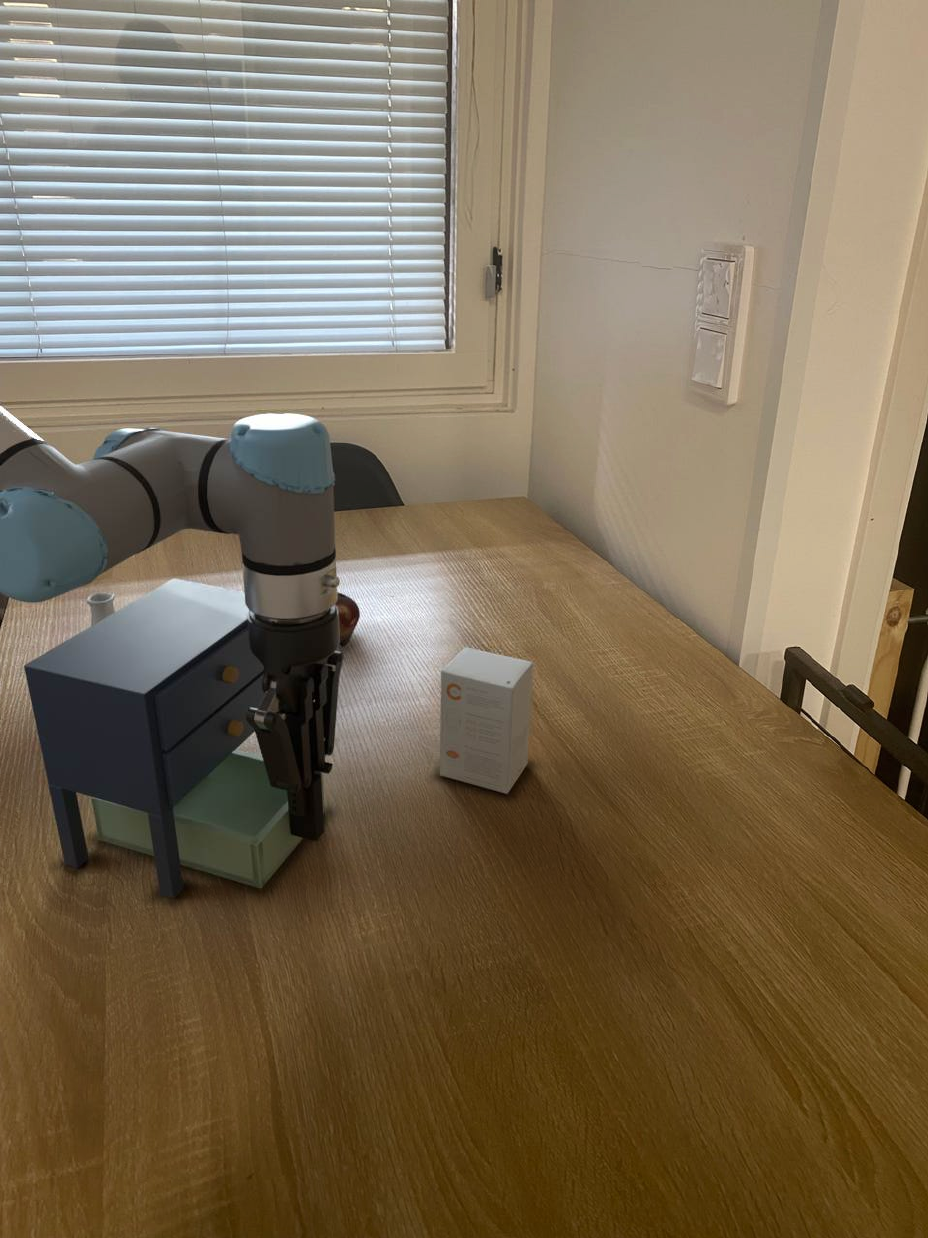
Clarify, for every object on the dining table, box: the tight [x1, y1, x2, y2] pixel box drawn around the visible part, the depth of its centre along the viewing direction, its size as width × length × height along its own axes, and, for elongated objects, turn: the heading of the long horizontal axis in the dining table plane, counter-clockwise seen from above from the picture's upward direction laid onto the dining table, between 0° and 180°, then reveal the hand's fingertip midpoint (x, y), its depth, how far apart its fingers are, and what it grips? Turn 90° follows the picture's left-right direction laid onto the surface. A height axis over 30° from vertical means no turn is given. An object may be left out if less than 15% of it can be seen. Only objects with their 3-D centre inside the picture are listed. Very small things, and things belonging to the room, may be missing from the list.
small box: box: [439, 646, 534, 795], centre depth 96 cm, size 8×6×13 cm
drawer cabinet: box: [23, 577, 265, 899], centre depth 86 cm, size 13×20×21 cm
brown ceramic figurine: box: [335, 591, 361, 647], centre depth 123 cm, size 10×15×8 cm, turn 163°
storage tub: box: [90, 749, 326, 889], centre depth 89 cm, size 18×12×5 cm, turn 70°
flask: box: [86, 591, 116, 627], centre depth 115 cm, size 7×7×10 cm
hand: (307, 833), depth 86 cm, fingers closed
